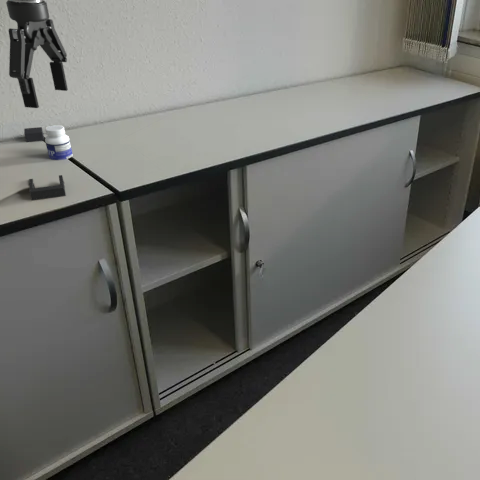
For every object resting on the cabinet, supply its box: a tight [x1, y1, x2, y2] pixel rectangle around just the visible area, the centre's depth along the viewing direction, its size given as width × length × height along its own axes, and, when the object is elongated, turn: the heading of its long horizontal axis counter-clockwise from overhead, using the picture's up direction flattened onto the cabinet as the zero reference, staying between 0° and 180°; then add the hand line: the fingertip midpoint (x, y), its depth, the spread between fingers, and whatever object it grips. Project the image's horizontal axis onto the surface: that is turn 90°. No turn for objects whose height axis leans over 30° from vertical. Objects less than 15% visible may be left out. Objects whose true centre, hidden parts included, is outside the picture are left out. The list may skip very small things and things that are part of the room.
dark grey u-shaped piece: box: [28, 174, 67, 201], centre depth 120 cm, size 7×7×2 cm
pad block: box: [23, 126, 45, 143], centre depth 141 cm, size 4×4×4 cm
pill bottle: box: [44, 124, 74, 161], centre depth 132 cm, size 5×5×9 cm
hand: (47, 98), depth 126 cm, fingers open, 13 cm apart
